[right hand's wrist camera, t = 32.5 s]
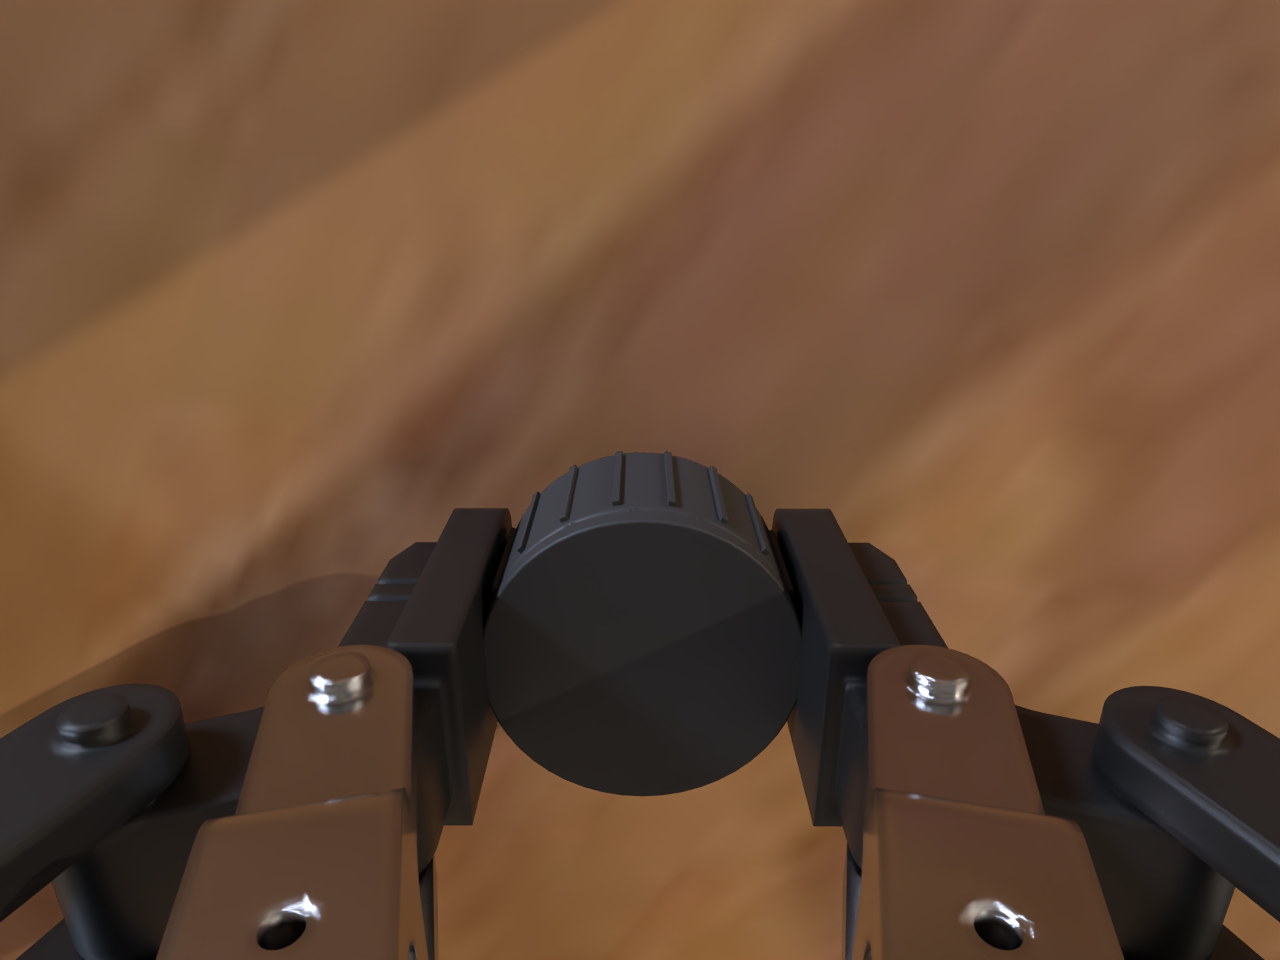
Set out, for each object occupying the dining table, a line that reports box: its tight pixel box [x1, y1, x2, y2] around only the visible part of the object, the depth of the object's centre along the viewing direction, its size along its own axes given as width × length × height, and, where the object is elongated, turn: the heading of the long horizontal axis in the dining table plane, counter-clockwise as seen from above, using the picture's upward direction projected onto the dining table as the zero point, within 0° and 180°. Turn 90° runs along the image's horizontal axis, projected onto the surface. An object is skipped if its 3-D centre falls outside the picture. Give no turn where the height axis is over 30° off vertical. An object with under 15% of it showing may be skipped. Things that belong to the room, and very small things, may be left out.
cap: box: [483, 451, 802, 796], centre depth 11 cm, size 4×4×2 cm
